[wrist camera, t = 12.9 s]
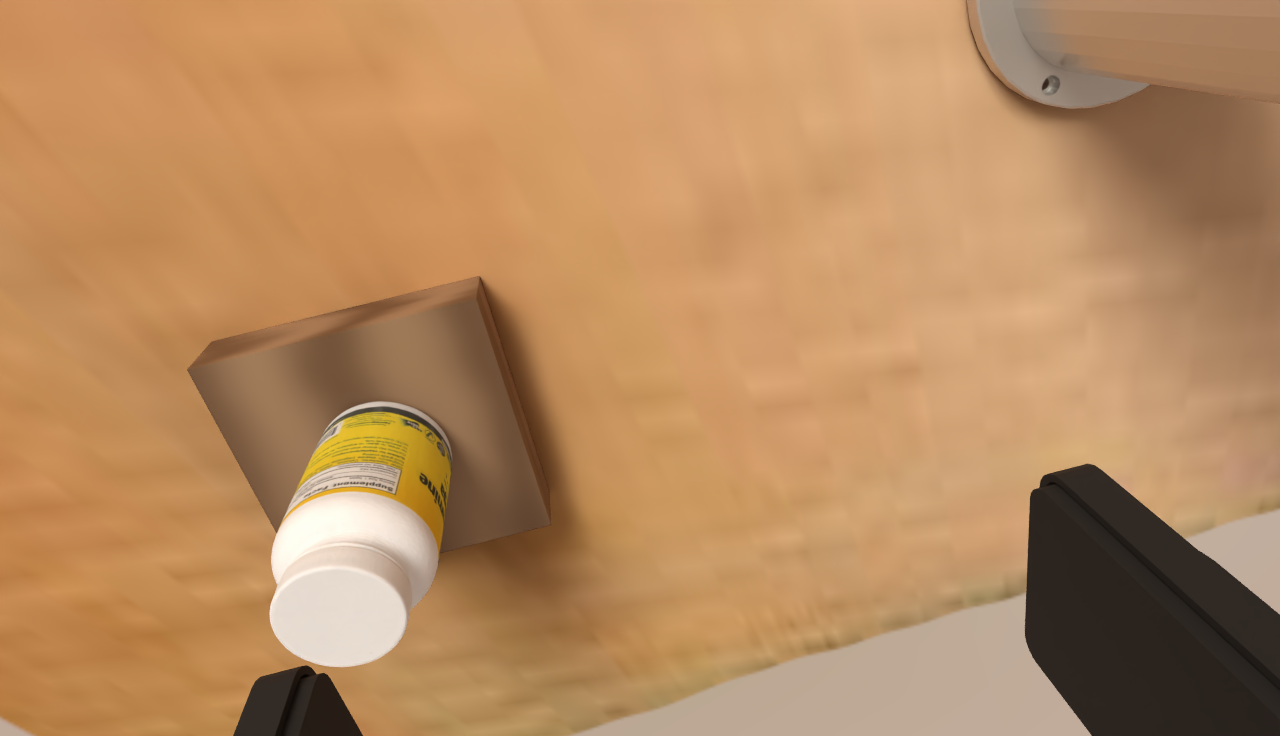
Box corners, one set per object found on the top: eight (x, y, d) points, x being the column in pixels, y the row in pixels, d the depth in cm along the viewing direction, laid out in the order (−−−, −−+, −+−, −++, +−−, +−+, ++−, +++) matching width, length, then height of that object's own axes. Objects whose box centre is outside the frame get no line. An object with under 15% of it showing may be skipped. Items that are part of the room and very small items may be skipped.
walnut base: (479, 276, 37) (476, 298, 34) (549, 491, 43) (551, 524, 40) (211, 341, 36) (187, 369, 34) (319, 549, 42) (306, 587, 40)
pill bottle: (452, 507, 39) (427, 684, 29) (322, 503, 38) (251, 685, 28) (457, 399, 36) (432, 553, 26) (318, 391, 35) (237, 548, 25)
